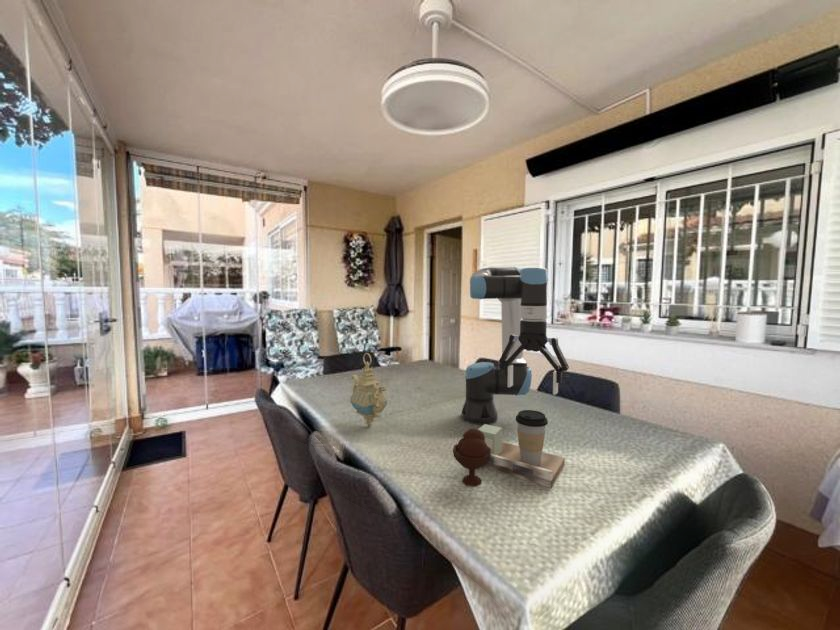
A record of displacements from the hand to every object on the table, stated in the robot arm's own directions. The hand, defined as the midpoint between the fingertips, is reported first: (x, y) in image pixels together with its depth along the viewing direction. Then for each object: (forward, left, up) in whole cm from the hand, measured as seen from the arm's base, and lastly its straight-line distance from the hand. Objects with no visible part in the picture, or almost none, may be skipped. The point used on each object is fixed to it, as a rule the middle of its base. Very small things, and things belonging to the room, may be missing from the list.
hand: (532, 389), depth 107 cm
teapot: (-64, -4, -25) cm, 69 cm away
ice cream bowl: (-12, -17, -25) cm, 32 cm away
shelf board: (-4, 0, -25) cm, 25 cm away
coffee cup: (0, 0, -23) cm, 23 cm away
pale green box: (-13, -2, -23) cm, 26 cm away
